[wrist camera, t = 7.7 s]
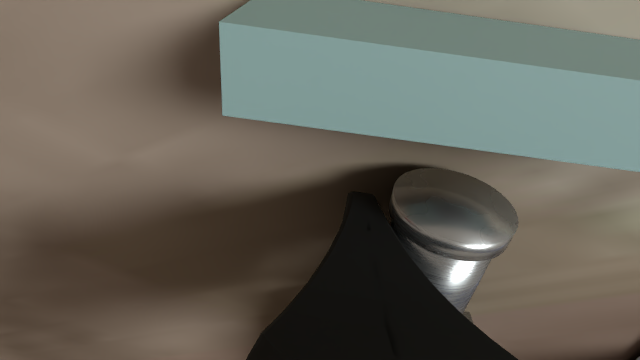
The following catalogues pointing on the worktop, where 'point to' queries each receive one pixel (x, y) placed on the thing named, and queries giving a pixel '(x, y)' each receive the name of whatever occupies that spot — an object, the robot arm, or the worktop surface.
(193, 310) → the worktop surface
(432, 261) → the elbow
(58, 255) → the worktop surface
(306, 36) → the pale teal rectangular bar
